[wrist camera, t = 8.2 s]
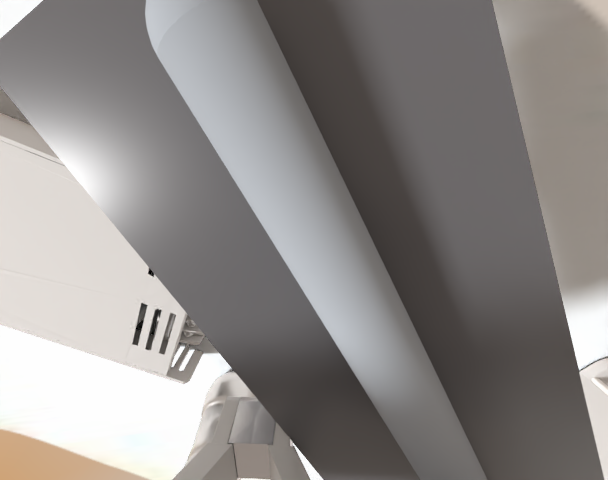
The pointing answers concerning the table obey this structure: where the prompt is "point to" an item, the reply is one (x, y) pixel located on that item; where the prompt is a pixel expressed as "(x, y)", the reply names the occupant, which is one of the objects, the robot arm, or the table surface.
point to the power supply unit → (79, 267)
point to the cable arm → (329, 216)
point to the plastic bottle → (217, 408)
